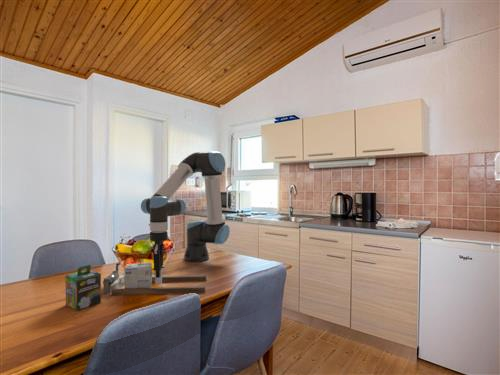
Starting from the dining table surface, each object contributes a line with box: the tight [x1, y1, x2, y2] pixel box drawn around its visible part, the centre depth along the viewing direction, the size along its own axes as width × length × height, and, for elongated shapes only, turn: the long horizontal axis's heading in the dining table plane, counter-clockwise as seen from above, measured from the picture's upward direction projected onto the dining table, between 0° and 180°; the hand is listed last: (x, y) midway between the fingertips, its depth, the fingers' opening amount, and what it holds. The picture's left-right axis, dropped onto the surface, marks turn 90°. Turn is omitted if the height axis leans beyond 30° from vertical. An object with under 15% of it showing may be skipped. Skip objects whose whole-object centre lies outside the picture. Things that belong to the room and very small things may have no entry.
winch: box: [102, 262, 121, 294], centre depth 128 cm, size 16×4×9 cm, turn 6°
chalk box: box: [64, 264, 102, 312], centre depth 109 cm, size 9×9×15 cm
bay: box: [109, 272, 207, 296], centre depth 128 cm, size 16×38×4 cm, turn 96°
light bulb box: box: [124, 262, 153, 289], centre depth 125 cm, size 11×7×11 cm, turn 106°
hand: (158, 283), depth 128 cm, fingers closed
